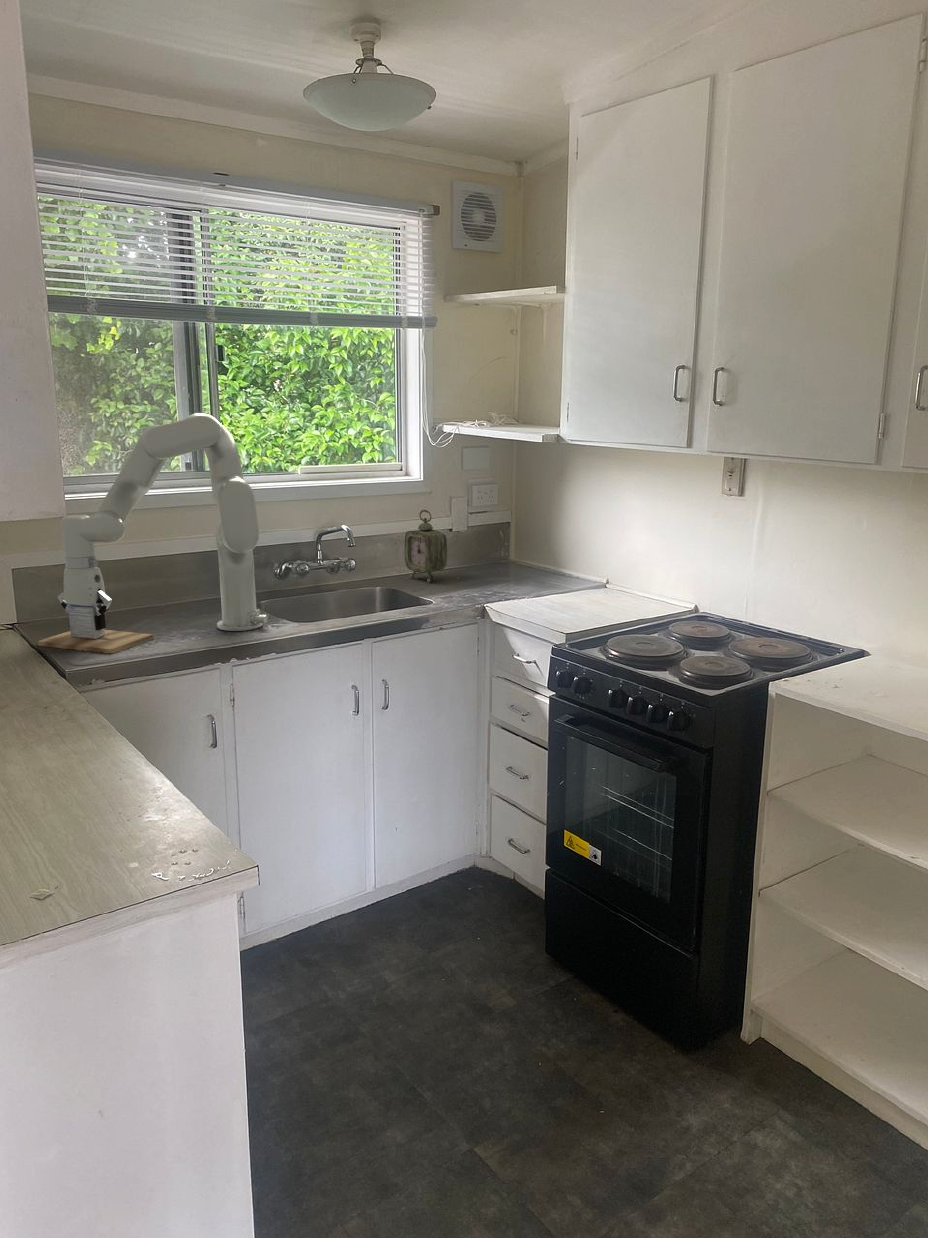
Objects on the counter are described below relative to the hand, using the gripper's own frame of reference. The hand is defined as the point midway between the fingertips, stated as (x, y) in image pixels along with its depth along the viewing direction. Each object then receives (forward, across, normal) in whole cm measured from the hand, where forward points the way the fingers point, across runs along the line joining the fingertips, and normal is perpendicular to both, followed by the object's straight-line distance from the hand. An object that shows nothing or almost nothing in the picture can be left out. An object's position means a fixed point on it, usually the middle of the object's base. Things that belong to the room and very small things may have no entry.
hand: (87, 627), depth 245 cm
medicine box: (+3, 0, 0) cm, 3 cm away
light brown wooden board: (+4, -3, 0) cm, 5 cm away
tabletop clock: (+4, -53, -110) cm, 122 cm away
